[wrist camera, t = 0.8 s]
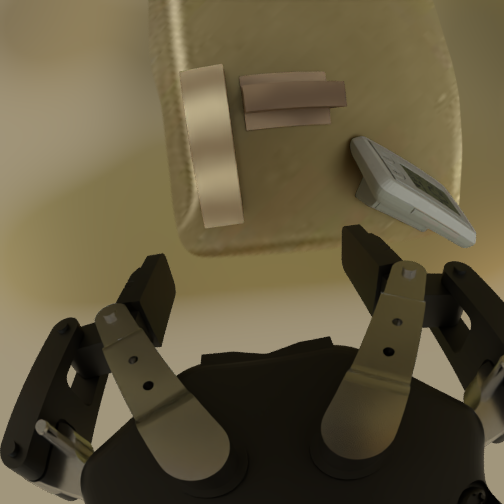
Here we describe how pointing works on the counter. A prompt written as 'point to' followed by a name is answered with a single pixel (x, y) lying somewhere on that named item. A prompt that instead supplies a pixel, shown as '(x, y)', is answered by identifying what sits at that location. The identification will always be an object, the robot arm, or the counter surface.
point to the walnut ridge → (289, 99)
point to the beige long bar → (212, 145)
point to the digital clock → (408, 193)
